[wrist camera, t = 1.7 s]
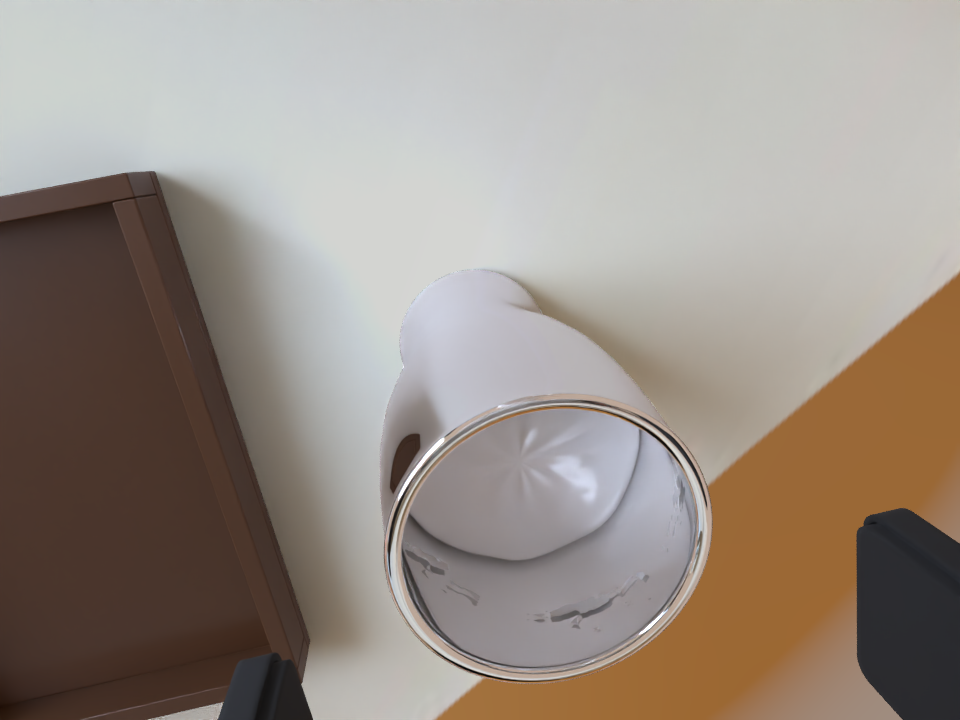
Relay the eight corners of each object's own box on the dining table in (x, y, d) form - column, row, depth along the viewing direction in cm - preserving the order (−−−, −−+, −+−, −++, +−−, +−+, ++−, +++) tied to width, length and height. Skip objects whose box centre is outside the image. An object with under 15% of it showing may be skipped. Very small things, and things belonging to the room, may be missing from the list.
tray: (-291, 254, 23) (-376, 266, 20) (155, 170, 23) (126, 172, 21) (-27, 718, 29) (-67, 770, 27) (310, 640, 30) (302, 684, 28)
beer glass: (513, 440, 28) (625, 726, 14) (363, 385, 27) (319, 644, 13) (583, 296, 27) (788, 456, 12) (427, 229, 25) (460, 325, 11)
